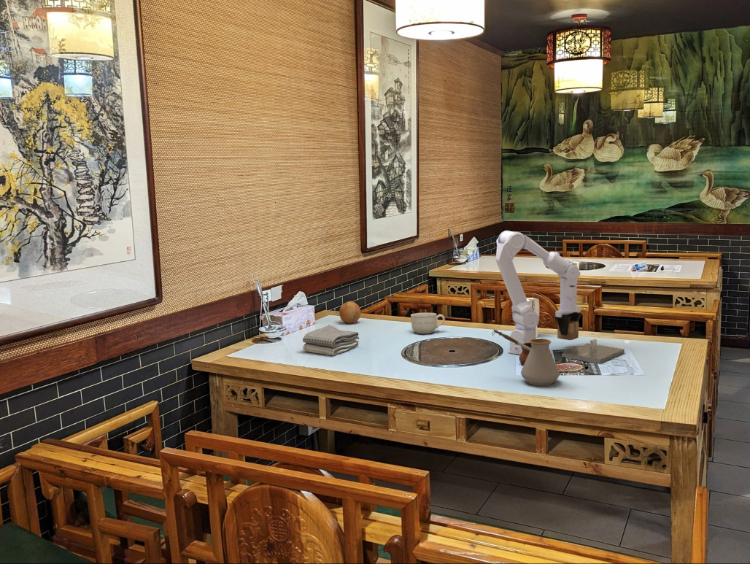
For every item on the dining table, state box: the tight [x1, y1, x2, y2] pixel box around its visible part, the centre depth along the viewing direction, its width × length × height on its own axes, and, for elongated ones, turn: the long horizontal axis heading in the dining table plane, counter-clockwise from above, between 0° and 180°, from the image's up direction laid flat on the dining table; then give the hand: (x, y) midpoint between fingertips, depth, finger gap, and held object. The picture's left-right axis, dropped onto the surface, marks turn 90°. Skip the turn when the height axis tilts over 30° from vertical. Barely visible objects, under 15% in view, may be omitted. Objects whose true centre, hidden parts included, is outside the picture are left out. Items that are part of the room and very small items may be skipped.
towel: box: [302, 324, 360, 356], centre depth 255 cm, size 15×18×8 cm
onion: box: [338, 300, 362, 324], centre depth 303 cm, size 10×10×10 cm
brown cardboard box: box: [557, 321, 580, 341], centre depth 244 cm, size 5×5×6 cm
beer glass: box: [526, 297, 540, 339], centre depth 265 cm, size 7×7×15 cm
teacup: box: [410, 312, 446, 335], centre depth 278 cm, size 14×11×8 cm
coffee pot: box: [491, 329, 560, 387], centre depth 207 cm, size 21×12×15 cm, turn 56°
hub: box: [561, 338, 625, 365], centre depth 234 cm, size 18×14×6 cm
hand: (567, 333), depth 245 cm, fingers closed on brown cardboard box, 5 cm apart
